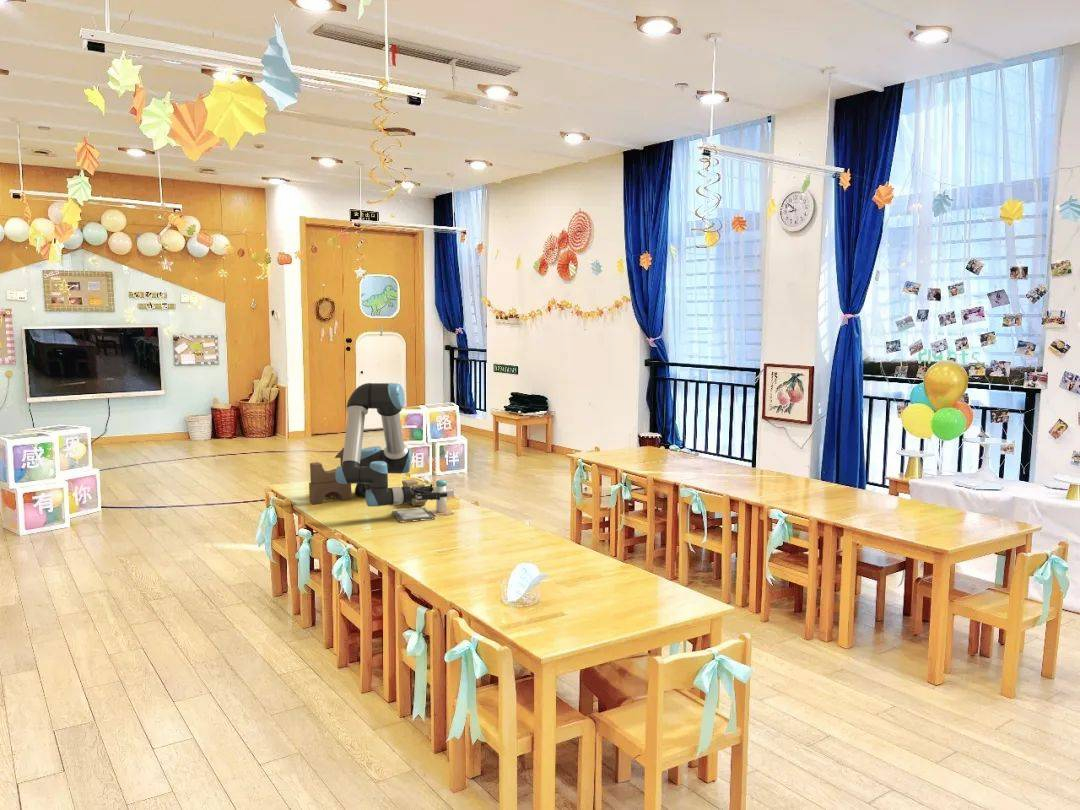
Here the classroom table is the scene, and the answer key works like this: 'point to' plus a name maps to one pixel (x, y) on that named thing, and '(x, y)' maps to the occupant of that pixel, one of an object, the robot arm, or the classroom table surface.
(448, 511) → the coaster
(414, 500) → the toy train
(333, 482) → the wooden blocks
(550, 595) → the classroom table surface
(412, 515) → the writing board
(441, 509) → the white bottle
